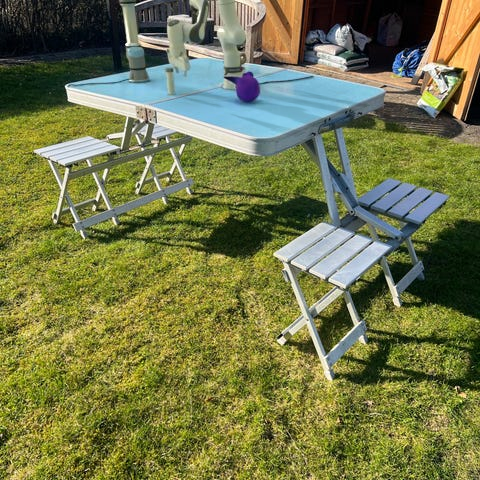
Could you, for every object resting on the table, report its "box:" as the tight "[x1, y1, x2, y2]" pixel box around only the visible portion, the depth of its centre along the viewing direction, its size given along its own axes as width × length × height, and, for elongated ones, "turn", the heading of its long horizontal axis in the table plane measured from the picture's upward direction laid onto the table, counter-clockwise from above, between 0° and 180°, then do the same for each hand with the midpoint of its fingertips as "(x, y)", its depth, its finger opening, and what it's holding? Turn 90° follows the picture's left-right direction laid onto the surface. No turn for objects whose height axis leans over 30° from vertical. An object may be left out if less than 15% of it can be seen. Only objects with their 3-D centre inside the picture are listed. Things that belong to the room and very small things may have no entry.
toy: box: [223, 71, 261, 103], centre depth 276 cm, size 16×18×27 cm
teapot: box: [222, 52, 247, 67], centre depth 367 cm, size 21×12×15 cm, turn 120°
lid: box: [165, 66, 175, 73], centre depth 292 cm, size 5×5×2 cm
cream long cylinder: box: [165, 71, 176, 96], centre depth 296 cm, size 4×4×16 cm
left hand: (196, 35), depth 349 cm, fingers open, 13 cm apart
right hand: (181, 74), depth 273 cm, fingers open, 8 cm apart
